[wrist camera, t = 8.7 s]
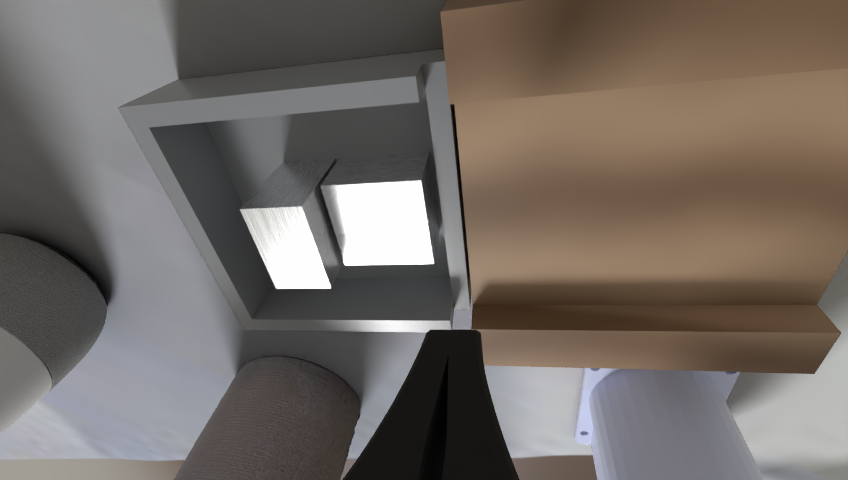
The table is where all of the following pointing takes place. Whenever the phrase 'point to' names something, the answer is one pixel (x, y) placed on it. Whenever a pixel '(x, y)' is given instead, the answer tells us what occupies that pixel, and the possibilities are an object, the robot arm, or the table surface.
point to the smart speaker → (41, 321)
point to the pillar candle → (277, 425)
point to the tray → (297, 141)
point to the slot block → (652, 179)
